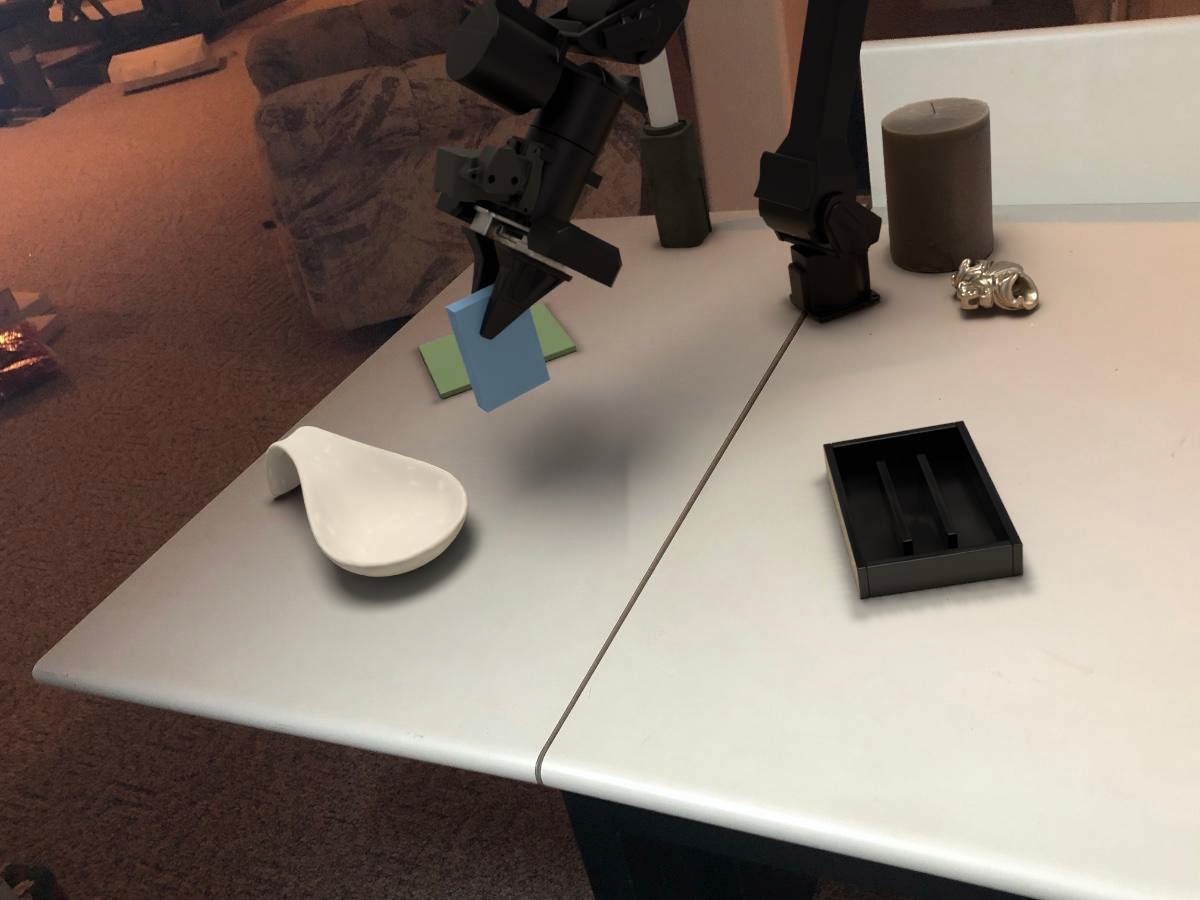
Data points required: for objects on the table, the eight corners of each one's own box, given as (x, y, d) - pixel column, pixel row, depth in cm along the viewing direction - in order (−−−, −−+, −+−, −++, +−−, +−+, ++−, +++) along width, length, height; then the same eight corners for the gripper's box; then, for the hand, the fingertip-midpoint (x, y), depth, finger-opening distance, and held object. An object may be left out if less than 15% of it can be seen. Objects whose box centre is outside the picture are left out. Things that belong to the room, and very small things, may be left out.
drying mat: (543, 306, 116) (542, 301, 116) (576, 350, 106) (575, 345, 106) (419, 350, 114) (418, 345, 114) (442, 399, 104) (440, 394, 104)
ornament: (928, 307, 98) (926, 271, 96) (980, 277, 101) (979, 241, 99) (1000, 332, 92) (999, 294, 90) (1053, 299, 95) (1054, 261, 93)
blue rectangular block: (540, 373, 88) (511, 274, 84) (550, 379, 87) (521, 279, 82) (478, 406, 86) (444, 306, 81) (487, 413, 85) (454, 312, 80)
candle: (674, 227, 126) (631, 5, 112) (715, 227, 124) (675, 0, 110) (657, 247, 122) (610, 20, 109) (699, 247, 120) (656, 15, 106)
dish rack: (827, 482, 81) (822, 443, 79) (965, 459, 79) (963, 420, 77) (861, 610, 69) (857, 569, 67) (1023, 586, 68) (1023, 544, 66)
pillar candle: (930, 283, 102) (921, 128, 94) (871, 252, 110) (858, 107, 102) (1016, 248, 104) (1014, 93, 96) (952, 220, 112) (945, 75, 104)
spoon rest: (508, 531, 84) (483, 456, 80) (390, 622, 78) (357, 546, 74) (344, 451, 100) (316, 386, 96) (235, 522, 94) (201, 455, 90)
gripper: (421, 80, 83) (342, 268, 85) (544, 110, 69) (446, 335, 71) (532, 143, 90) (457, 315, 92) (665, 182, 76) (573, 384, 78)
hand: (479, 334), depth 83 cm, fingers closed on blue rectangular block, 2 cm apart
